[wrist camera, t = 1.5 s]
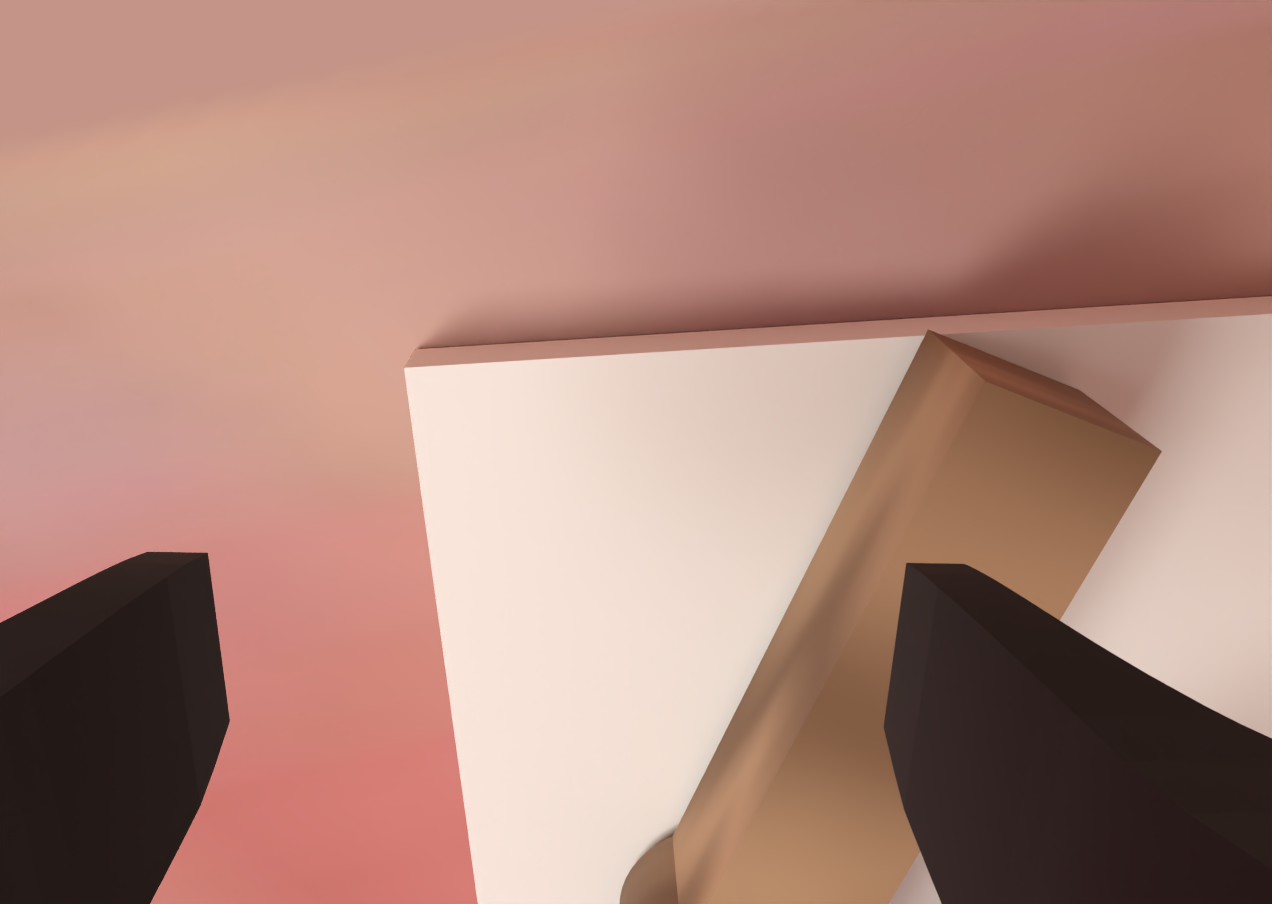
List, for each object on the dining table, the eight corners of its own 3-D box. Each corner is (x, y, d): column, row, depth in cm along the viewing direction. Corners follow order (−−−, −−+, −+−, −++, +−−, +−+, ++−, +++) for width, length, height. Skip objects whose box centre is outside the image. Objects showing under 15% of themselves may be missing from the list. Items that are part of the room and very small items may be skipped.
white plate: (1459, 970, 26) (1497, 1012, 25) (506, 1034, 26) (502, 1079, 25) (1657, 272, 20) (1718, 286, 19) (414, 349, 20) (404, 367, 19)
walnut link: (761, 995, 24) (783, 1123, 21) (591, 947, 23) (589, 1072, 20) (1104, 399, 19) (1190, 462, 16) (901, 318, 19) (955, 369, 16)
